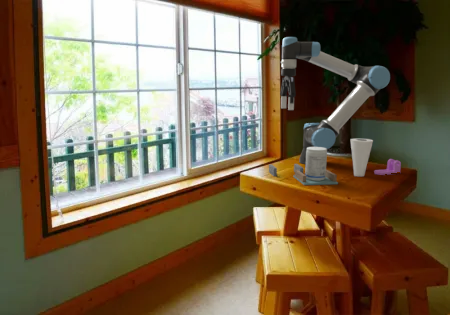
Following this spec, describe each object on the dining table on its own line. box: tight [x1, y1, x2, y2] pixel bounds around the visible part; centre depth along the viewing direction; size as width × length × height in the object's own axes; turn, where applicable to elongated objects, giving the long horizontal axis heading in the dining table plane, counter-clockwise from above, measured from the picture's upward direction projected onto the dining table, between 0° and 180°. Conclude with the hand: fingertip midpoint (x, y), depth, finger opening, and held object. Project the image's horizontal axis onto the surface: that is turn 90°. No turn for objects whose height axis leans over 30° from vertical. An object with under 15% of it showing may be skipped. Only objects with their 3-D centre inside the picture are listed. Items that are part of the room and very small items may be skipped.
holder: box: [268, 163, 304, 177], centre depth 198 cm, size 15×10×4 cm, turn 98°
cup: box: [350, 138, 374, 178], centre depth 195 cm, size 11×11×18 cm
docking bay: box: [293, 169, 339, 186], centre depth 185 cm, size 16×16×4 cm
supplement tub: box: [304, 147, 328, 181], centre depth 184 cm, size 10×10×15 cm
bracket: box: [373, 158, 402, 176], centre depth 202 cm, size 13×6×7 cm, turn 108°
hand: (287, 109), depth 208 cm, fingers open, 13 cm apart
